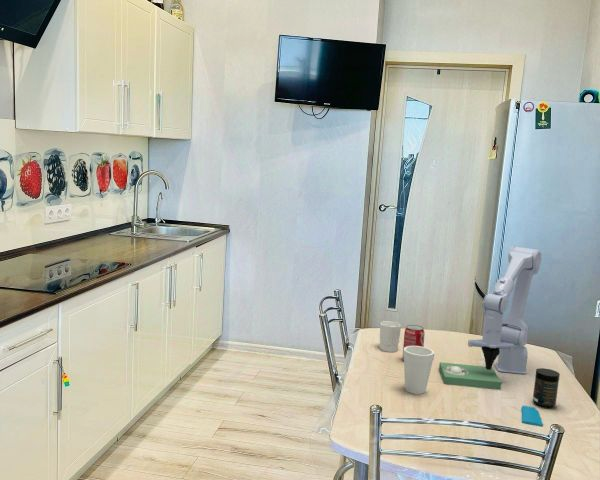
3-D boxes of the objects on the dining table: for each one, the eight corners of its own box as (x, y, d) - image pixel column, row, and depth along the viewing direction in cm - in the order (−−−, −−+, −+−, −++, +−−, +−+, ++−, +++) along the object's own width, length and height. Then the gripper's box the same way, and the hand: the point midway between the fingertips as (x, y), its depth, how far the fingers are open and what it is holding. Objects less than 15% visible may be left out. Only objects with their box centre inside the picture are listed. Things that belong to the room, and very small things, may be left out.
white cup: (400, 353, 221) (402, 327, 219) (379, 351, 221) (381, 326, 219) (397, 346, 228) (399, 321, 227) (377, 345, 228) (379, 320, 227)
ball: (449, 374, 201) (460, 370, 201) (452, 382, 197) (464, 378, 197) (447, 365, 199) (458, 362, 199) (451, 373, 196) (462, 370, 195)
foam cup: (432, 387, 188) (435, 348, 186) (428, 398, 180) (432, 357, 178) (402, 382, 191) (406, 344, 189) (397, 392, 183) (401, 352, 181)
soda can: (422, 366, 208) (425, 330, 206) (401, 363, 209) (404, 328, 207) (422, 359, 215) (425, 325, 213) (402, 357, 216) (405, 323, 214)
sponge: (542, 409, 175) (522, 403, 177) (543, 425, 164) (522, 418, 166) (541, 413, 176) (520, 407, 177) (542, 430, 164) (520, 423, 166)
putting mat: (491, 374, 204) (492, 367, 204) (500, 389, 190) (501, 382, 190) (439, 369, 206) (439, 362, 206) (444, 383, 192) (444, 376, 192)
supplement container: (560, 408, 178) (564, 375, 177) (542, 410, 176) (546, 376, 175) (545, 399, 185) (549, 367, 183) (527, 400, 183) (531, 368, 181)
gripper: (472, 331, 192) (468, 370, 194) (517, 335, 190) (513, 375, 192) (468, 325, 199) (464, 363, 201) (512, 328, 197) (508, 367, 199)
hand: (488, 368), depth 197 cm, fingers closed
